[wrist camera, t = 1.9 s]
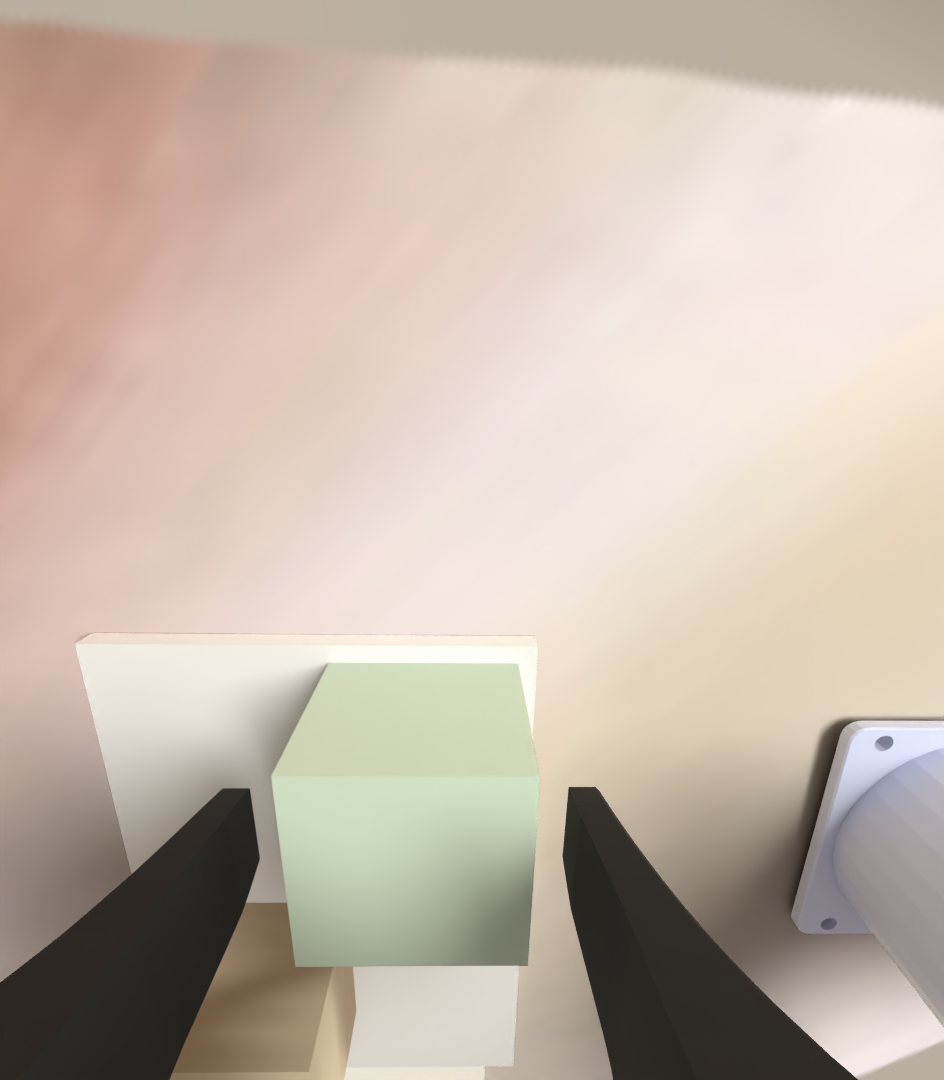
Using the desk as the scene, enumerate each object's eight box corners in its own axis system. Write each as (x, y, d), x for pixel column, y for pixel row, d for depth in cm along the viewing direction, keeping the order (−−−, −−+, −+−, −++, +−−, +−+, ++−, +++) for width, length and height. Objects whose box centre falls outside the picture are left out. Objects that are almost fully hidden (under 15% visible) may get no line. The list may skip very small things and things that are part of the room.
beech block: (347, 902, 15) (308, 1071, 12) (356, 1011, 17) (323, 1193, 13) (187, 902, 15) (93, 1073, 11) (209, 1011, 17) (133, 1195, 13)
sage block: (517, 663, 13) (540, 777, 9) (511, 813, 14) (527, 965, 11) (329, 662, 13) (270, 776, 9) (340, 813, 14) (295, 967, 10)
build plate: (534, 635, 13) (538, 646, 13) (511, 1045, 18) (513, 1066, 18) (91, 633, 13) (74, 643, 13) (187, 1047, 18) (179, 1069, 18)
